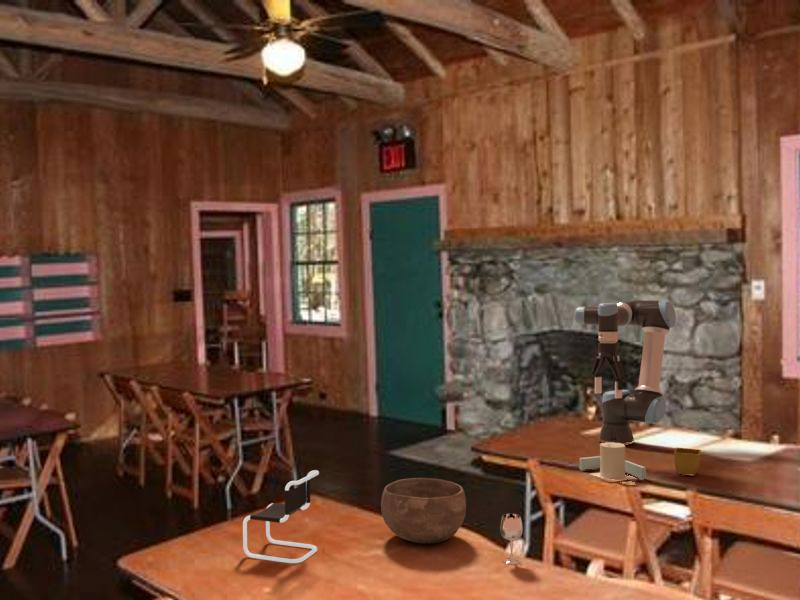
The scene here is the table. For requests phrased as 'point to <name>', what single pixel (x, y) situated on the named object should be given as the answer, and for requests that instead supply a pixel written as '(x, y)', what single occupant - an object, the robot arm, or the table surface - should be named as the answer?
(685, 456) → the flower pot
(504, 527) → the wineglass
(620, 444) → the can
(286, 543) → the chair
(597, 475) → the tile
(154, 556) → the table surface
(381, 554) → the table surface
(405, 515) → the bowl
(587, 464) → the fence
